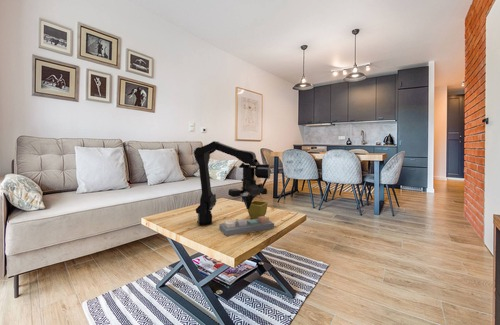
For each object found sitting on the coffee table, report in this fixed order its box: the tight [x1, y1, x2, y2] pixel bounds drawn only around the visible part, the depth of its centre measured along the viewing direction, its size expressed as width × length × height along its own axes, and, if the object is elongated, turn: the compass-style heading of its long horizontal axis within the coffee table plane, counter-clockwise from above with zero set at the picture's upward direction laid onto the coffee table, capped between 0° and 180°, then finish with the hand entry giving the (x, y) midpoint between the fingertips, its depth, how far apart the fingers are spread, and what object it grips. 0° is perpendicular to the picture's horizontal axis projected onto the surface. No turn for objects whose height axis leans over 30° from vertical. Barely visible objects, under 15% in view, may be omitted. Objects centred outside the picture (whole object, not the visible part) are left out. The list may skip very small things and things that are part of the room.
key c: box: [247, 219, 258, 225], centre depth 112 cm, size 4×4×3 cm
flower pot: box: [247, 200, 268, 220], centre depth 127 cm, size 9×9×9 cm
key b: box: [235, 218, 247, 227], centre depth 110 cm, size 4×4×3 cm
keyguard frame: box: [218, 219, 275, 237], centre depth 111 cm, size 25×10×2 cm, turn 116°
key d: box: [258, 215, 270, 223], centre depth 115 cm, size 4×4×3 cm
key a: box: [223, 220, 236, 228], centre depth 107 cm, size 4×4×3 cm
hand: (247, 209), depth 111 cm, fingers closed
